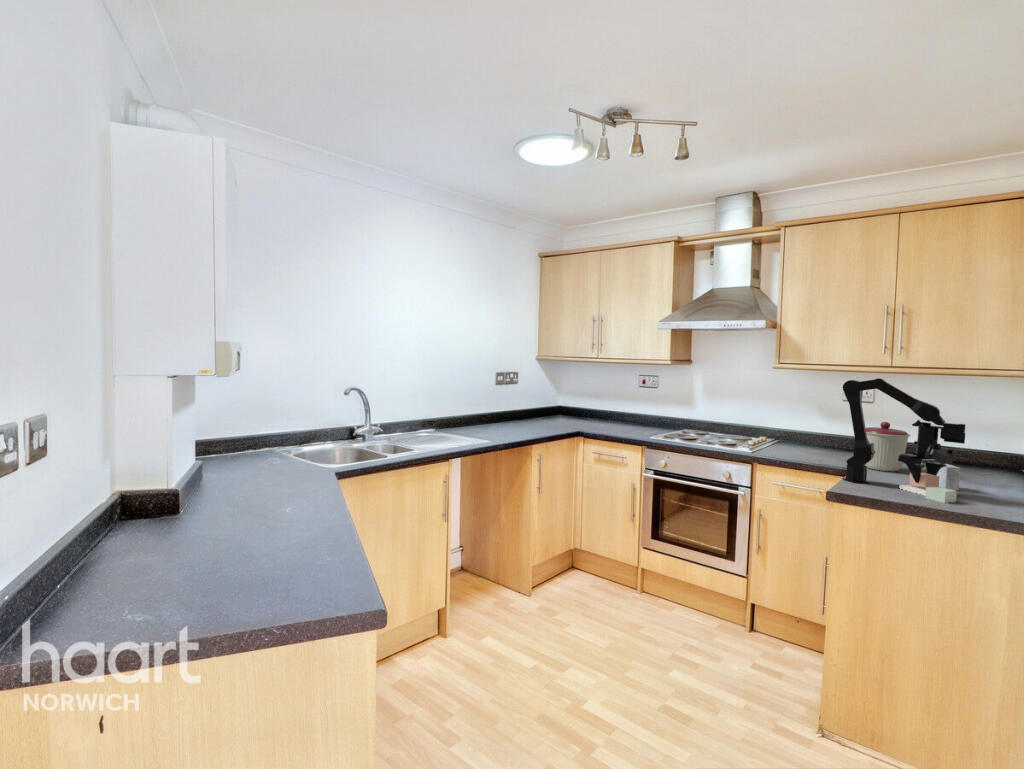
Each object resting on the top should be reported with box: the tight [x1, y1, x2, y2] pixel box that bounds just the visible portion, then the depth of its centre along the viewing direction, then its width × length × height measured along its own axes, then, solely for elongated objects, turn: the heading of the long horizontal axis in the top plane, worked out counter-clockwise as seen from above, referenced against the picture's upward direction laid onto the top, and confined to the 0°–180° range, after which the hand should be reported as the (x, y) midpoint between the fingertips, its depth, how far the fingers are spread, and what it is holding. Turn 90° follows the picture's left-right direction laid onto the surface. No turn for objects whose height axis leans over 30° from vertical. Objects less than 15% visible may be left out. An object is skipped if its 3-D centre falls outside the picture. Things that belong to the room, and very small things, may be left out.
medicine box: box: [936, 464, 961, 492], centre depth 199 cm, size 8×4×9 cm, turn 168°
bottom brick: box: [908, 472, 940, 488], centre depth 190 cm, size 6×6×4 cm
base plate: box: [898, 484, 926, 497], centre depth 191 cm, size 10×10×2 cm
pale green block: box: [924, 487, 958, 504], centre depth 180 cm, size 6×6×4 cm
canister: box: [864, 421, 911, 473], centre depth 231 cm, size 18×18×21 cm
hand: (923, 482), depth 191 cm, fingers closed on bottom brick, 6 cm apart
